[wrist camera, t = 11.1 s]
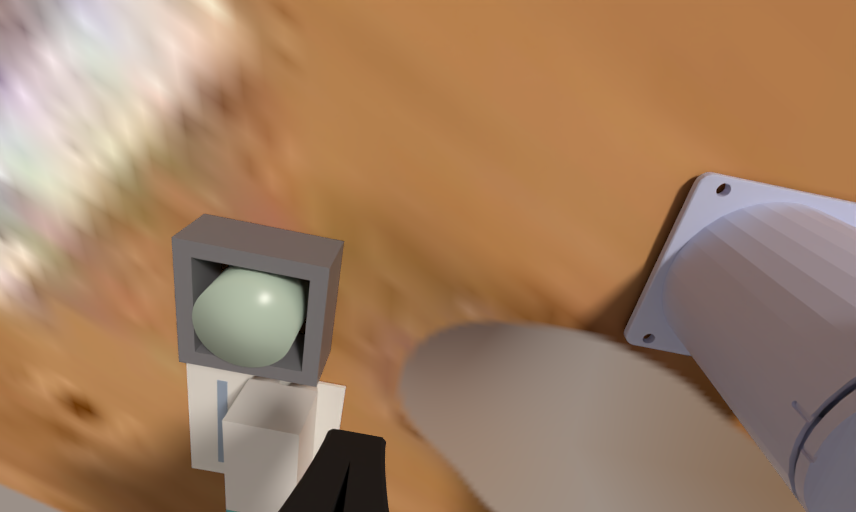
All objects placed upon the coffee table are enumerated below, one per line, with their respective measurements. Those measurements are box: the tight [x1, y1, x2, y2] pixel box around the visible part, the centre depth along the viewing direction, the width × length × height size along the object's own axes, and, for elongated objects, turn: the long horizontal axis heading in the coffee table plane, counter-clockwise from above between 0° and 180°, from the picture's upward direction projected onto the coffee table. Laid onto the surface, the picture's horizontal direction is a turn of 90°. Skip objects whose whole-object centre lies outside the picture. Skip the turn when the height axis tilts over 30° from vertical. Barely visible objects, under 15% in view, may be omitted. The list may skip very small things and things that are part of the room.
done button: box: [192, 265, 310, 368], centre depth 19 cm, size 4×4×3 cm
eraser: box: [222, 376, 318, 512], centre depth 23 cm, size 8×3×3 cm, turn 171°
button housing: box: [172, 214, 344, 387], centre depth 20 cm, size 6×6×2 cm
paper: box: [187, 363, 346, 474], centre depth 25 cm, size 8×8×1 cm
